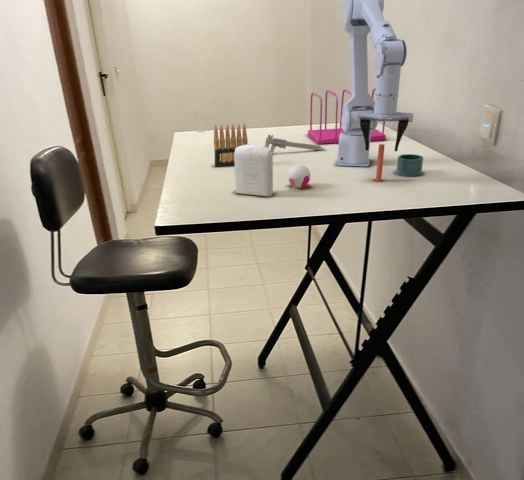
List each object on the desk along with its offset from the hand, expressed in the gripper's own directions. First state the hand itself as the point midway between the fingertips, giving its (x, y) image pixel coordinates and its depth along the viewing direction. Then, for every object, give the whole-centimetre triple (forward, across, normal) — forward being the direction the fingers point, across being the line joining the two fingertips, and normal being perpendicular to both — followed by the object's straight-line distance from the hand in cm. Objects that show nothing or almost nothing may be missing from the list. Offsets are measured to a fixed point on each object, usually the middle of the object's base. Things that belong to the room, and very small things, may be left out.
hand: (381, 150), depth 142 cm
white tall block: (+8, -31, -18) cm, 37 cm away
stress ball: (+8, -20, -10) cm, 24 cm away
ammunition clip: (+8, -46, +10) cm, 48 cm away
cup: (+8, +8, +9) cm, 14 cm away
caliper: (+8, -30, +30) cm, 43 cm away
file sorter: (+8, -16, +55) cm, 58 cm away
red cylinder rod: (+8, 0, 0) cm, 8 cm away
